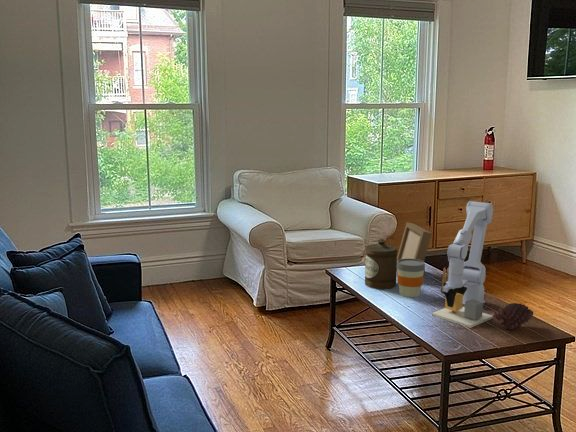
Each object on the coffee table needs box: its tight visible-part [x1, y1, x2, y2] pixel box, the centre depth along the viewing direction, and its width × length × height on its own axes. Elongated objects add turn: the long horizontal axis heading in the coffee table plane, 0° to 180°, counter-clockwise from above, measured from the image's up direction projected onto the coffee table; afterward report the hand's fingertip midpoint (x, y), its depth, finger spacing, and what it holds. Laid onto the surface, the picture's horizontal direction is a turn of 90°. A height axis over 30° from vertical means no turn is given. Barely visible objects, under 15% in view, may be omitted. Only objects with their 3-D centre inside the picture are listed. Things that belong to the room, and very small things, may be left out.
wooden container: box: [364, 238, 398, 290], centre depth 288 cm, size 15×15×22 cm
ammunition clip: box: [440, 266, 454, 295], centre depth 278 cm, size 11×2×12 cm, turn 104°
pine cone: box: [493, 302, 534, 330], centre depth 235 cm, size 18×10×10 cm, turn 110°
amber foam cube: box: [444, 293, 464, 311], centre depth 250 cm, size 5×5×6 cm
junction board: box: [431, 300, 494, 329], centre depth 247 cm, size 16×18×8 cm
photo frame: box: [397, 222, 433, 275], centre depth 302 cm, size 15×22×25 cm
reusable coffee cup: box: [396, 258, 426, 298], centre depth 275 cm, size 13×13×15 cm
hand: (454, 305), depth 250 cm, fingers closed on amber foam cube, 5 cm apart
